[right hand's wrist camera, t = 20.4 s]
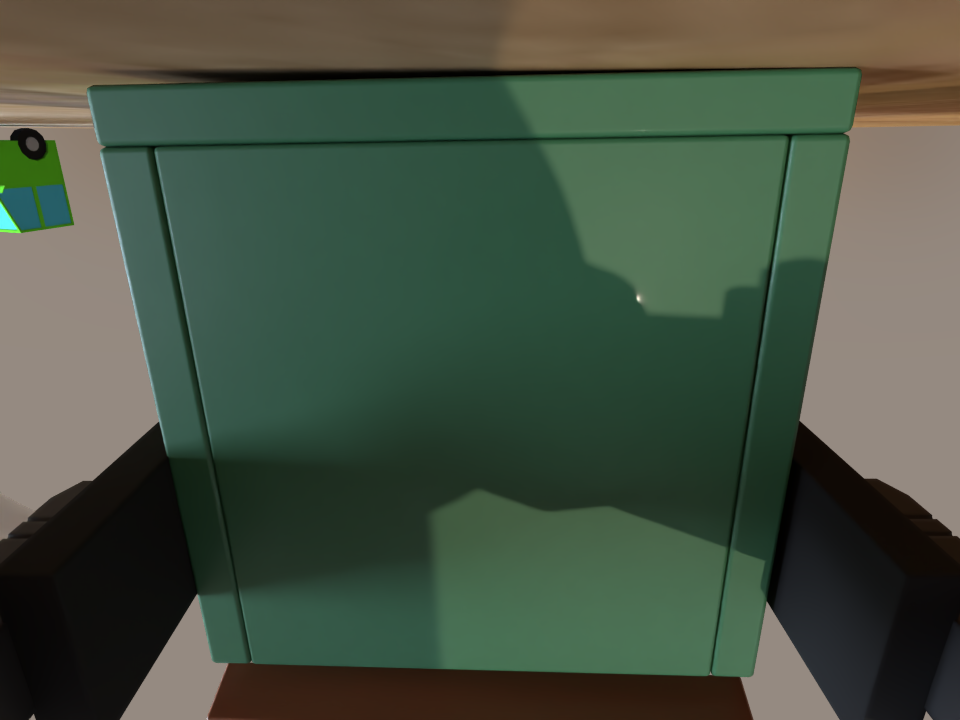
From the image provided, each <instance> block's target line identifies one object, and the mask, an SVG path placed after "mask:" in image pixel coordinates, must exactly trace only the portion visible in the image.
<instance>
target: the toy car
mask: <svg viewBox="0 0 960 720" xmlns="http://www.w3.org/2000/svg"><path fill="white" fill-rule="evenodd" d="M70 225H74V222H73V217H72V213H71V209H70V204H69V200H68V196H67V191H66V187H65V182H64V178H63V174H62V170H61V165H60V161H59V156H58V152H57V147H56V143H55V141H54V140H44V138H43V136H42V135H41V134H40V133H38V132H37V131H36V130H33V129H29V128H20V129H17V130H14V132H13V133H12V135H11V136H10V140H0V232H13V233H24V232H31V231H37V230H44V229H51V228H57V227H64V226H70Z"/></svg>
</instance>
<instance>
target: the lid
mask: <svg viewBox="0 0 960 720" xmlns="http://www.w3.org/2000/svg"><path fill="white" fill-rule="evenodd" d="M207 720H753V717H752V714H751V710H750V707H749V704H748V700H747V697H746V694H745V691H744V688H743V684H742V681H741V678H740V677H728V676H714V675H708V676H678V675H642V674H605V673H568V672H532V671H495V670H458V669H421V668H385V667H348V666H311V665H275V664H255V663H247V664H246V663H228V664H227V666H226V669H225V672H224V674H223V677H222V679H221V682H220V685H219V687H218V690H217V692H216V695H215V698H214V700H213V703H212V705H211V708H210V711H209V713H208V716H207Z"/></svg>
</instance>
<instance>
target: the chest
mask: <svg viewBox="0 0 960 720" xmlns="http://www.w3.org/2000/svg"><path fill="white" fill-rule="evenodd" d="M861 77H862V73H861V70H860V69H858V68H856V67H833V68H792V69H750V70H709V71H667V72H626V73H584V74H543V75H501V76H460V77H418V78H377V79H335V80H294V81H252V82H211V83H169V84H128V85H93V86H91V87H89V88H87V97H88V101H89V106H90V110H91V115H92V119H93V124H94V128H95V133H96V137H97V140H98V142H99V144H101V145H103V146H106V147H105V148H103V149H101V151H100V156H101V161H102V165H103V169H104V174H105V179H106V183H107V188H108V192H109V197H110V201H111V206H112V210H113V215H114V219H115V224H116V228H117V233H118V237H119V242H120V246H121V251H122V255H123V260H124V264H125V269H126V273H127V278H128V283H129V287H130V292H131V296H132V300H133V305H134V310H135V314H136V319H137V323H138V328H139V332H140V337H141V341H142V346H143V350H144V355H145V359H146V364H147V368H148V373H149V377H150V382H151V386H152V391H153V395H154V400H155V405H156V409H157V414H158V418H159V423H160V427H161V432H162V436H163V441H164V445H165V450H166V454H167V456H168V459H169V464H170V469H171V473H172V478H173V483H174V488H175V493H176V498H177V503H178V507H179V512H180V517H181V522H182V527H183V531H184V536H185V540H186V545H187V549H188V554H189V558H190V563H191V567H192V572H193V576H194V581H195V585H196V590H197V594H198V599H199V603H200V608H201V612H202V617H203V621H204V626H205V630H206V635H207V639H208V644H209V648H210V653H211V657H212V661H214V662H216V663H246V664H247V663H250V662H251V661H252V662H253V663H255V664H275V665H311V666H348V667H385V668H421V669H458V670H495V671H532V672H568V673H605V674H642V675H678V676H708V675H709V674H710V671H711V673H712V675H714V676H728V677H751V676H752V675H753V673H754V668H755V662H756V657H757V651H758V646H759V640H760V635H761V629H762V624H763V618H764V613H765V607H766V602H767V596H768V591H769V585H770V580H771V574H772V569H773V563H774V557H775V552H776V546H777V541H778V535H779V530H780V524H781V519H782V513H783V508H784V502H785V497H786V491H787V486H788V480H789V475H790V469H791V464H792V458H793V452H794V447H795V441H796V436H797V430H798V425H799V419H800V414H801V408H802V403H803V397H804V392H805V386H806V381H807V375H808V370H809V364H810V359H811V353H812V347H813V342H814V336H815V331H816V325H817V320H818V314H819V309H820V303H821V298H822V292H823V287H824V281H825V275H826V270H827V265H828V259H829V254H830V248H831V242H832V237H833V231H834V226H835V220H836V215H837V209H838V204H839V198H840V193H841V187H842V182H843V176H844V171H845V165H846V160H847V154H848V149H849V143H850V139H849V136H848V135H846V134H844V133H845V132H847V131H849V130H850V129H851V128H852V126H853V121H854V115H855V110H856V104H857V99H858V93H859V88H860V82H861Z"/></svg>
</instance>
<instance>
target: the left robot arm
mask: <svg viewBox="0 0 960 720" xmlns="http://www.w3.org/2000/svg"><path fill="white" fill-rule="evenodd" d="M34 512H35V510H32V509H30V508H28V507H26V506H23V505H21V504H19V503H17V502H16V501H14V500H12V499H10V498H9V497H7V496H5V495H4V494H2V493H1V492H0V541H1V540H2V539H7V538H8V534H9V533H10V532H11V531H13V530H14V529H15V528H16V527H17V526H19V525H20V524H21V523H22V522H27V521H28V517H29V516H30V515H31V514H33V513H34ZM29 720H31V719H29Z"/></svg>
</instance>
